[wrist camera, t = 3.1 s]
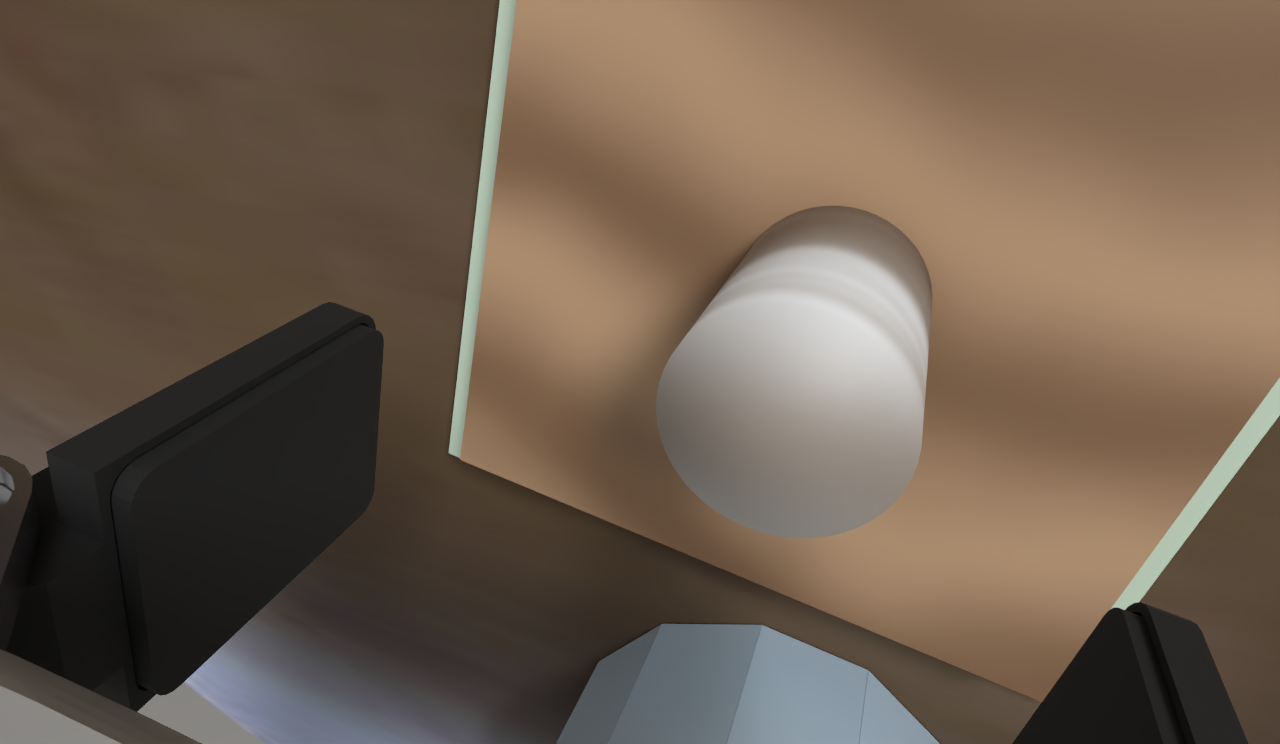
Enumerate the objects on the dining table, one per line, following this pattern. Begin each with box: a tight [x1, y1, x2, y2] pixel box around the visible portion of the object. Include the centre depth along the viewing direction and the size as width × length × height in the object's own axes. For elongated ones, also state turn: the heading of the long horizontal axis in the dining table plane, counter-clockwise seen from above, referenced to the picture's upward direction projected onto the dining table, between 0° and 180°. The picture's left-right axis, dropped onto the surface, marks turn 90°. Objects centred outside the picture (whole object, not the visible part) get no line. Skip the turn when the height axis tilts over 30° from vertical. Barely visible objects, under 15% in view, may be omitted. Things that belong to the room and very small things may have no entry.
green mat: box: [449, 0, 1280, 610], centre depth 18 cm, size 18×18×1 cm
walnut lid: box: [460, 0, 1280, 702], centre depth 15 cm, size 16×16×7 cm
